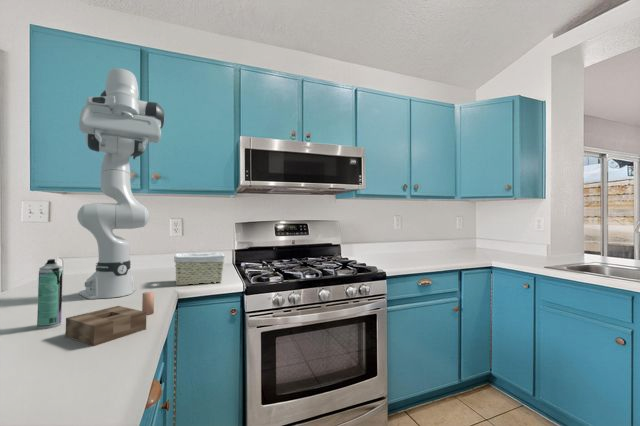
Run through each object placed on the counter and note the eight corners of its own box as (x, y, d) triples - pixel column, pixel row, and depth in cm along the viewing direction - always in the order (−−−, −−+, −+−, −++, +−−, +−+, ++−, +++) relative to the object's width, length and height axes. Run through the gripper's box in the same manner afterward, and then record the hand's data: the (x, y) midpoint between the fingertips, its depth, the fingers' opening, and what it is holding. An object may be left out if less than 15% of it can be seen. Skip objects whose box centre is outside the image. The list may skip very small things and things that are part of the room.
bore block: (65, 336, 86) (66, 317, 86) (117, 321, 99) (118, 305, 99) (93, 345, 80) (94, 326, 80) (146, 329, 92) (146, 312, 92)
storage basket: (221, 278, 174) (222, 251, 175) (225, 283, 159) (225, 254, 160) (174, 281, 165) (175, 253, 165) (173, 287, 150) (173, 256, 150)
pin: (139, 314, 107) (140, 293, 107) (149, 311, 110) (149, 291, 110) (146, 315, 105) (146, 294, 105) (155, 312, 108) (156, 292, 108)
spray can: (65, 322, 97) (67, 258, 98) (51, 329, 92) (53, 260, 92) (47, 322, 97) (49, 258, 97) (31, 329, 91) (33, 260, 92)
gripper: (159, 124, 103) (161, 158, 97) (81, 111, 91) (78, 149, 86) (162, 111, 98) (164, 146, 93) (80, 95, 87) (77, 134, 81)
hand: (122, 147), depth 89 cm, fingers open, 8 cm apart
